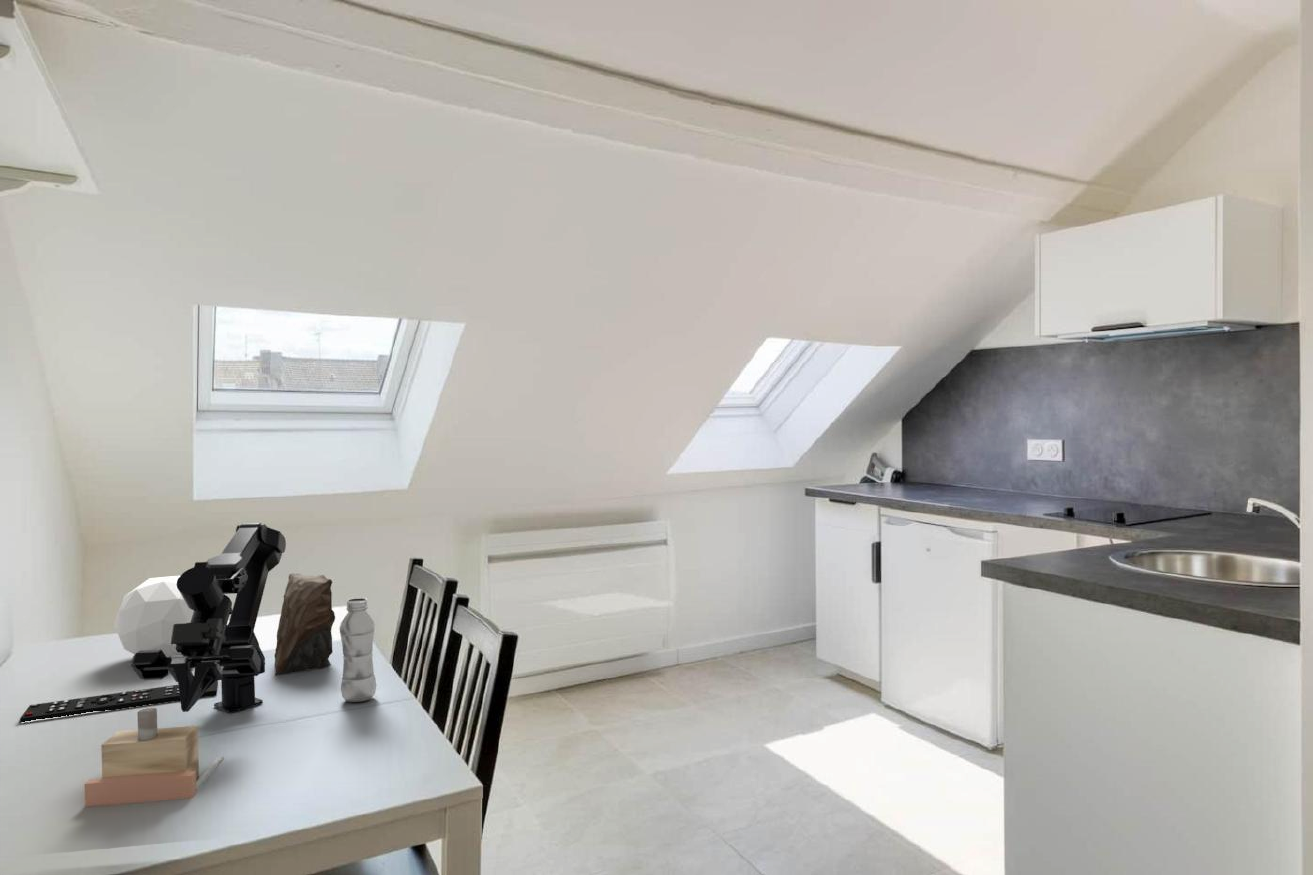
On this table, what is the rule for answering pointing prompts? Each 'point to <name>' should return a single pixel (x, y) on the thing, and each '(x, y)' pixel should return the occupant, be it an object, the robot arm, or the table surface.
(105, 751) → the plate
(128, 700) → the remote control
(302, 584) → the brown rock
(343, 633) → the plastic bottle
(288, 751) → the table surface
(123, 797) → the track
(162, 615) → the ball
